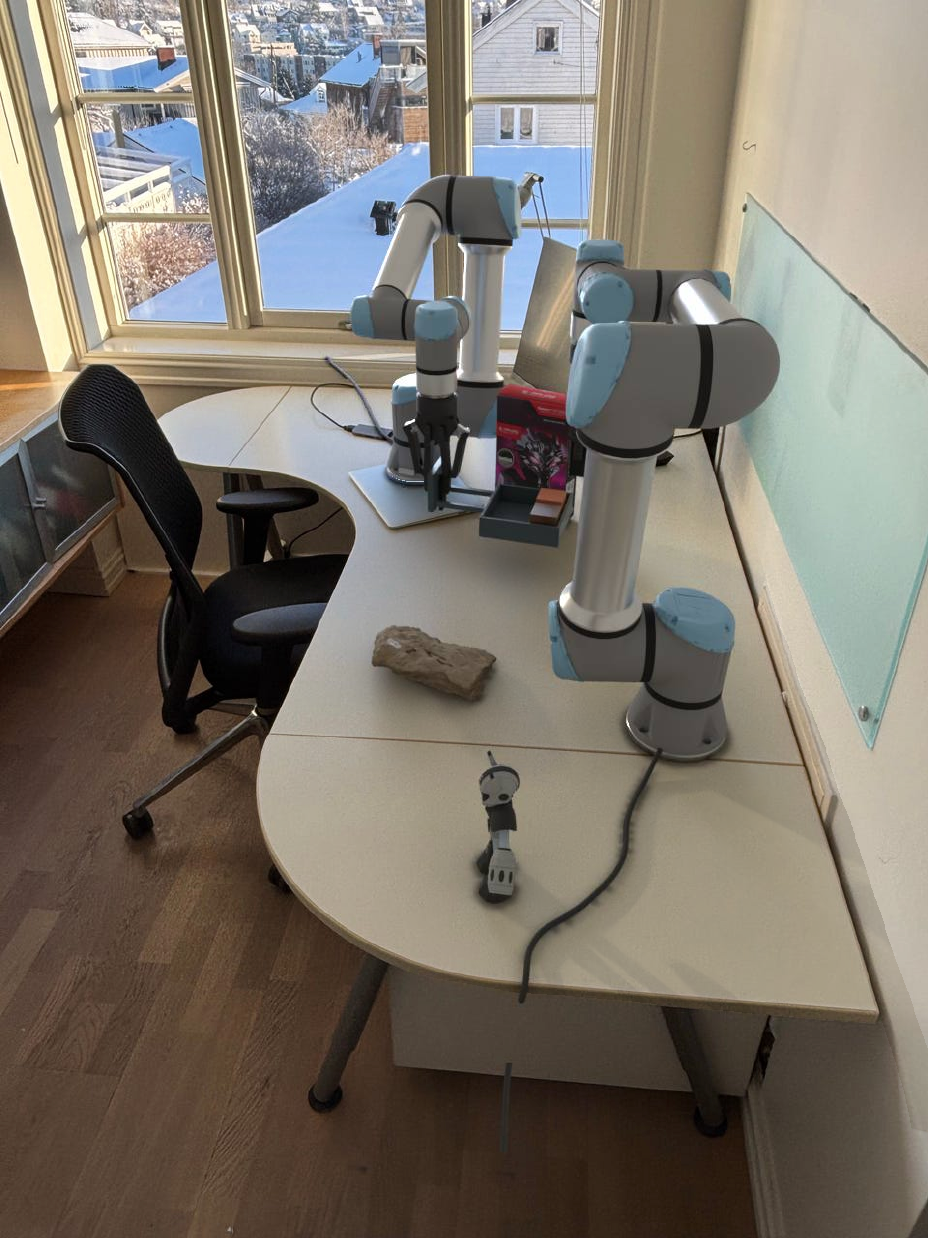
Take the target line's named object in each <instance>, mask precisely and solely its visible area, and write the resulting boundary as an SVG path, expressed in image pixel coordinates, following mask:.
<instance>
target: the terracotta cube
mask: <svg viewBox="0 0 928 1238" xmlns="http://www.w3.org/2000/svg"><path fill="white" fill-rule="evenodd" d="M566 494H567V491H562V490H554V489H546V488H541V490H540V492H539V494H538V497H537V499H536V503H543V504H550V505H558V506H561V515H562V513H563V510H564V508H565V505H566Z"/></svg>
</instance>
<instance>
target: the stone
mask: <svg viewBox="0 0 928 1238" xmlns="http://www.w3.org/2000/svg"><path fill="white" fill-rule="evenodd" d="M372 653H373V655H372V656H371V665H372V667H374V668H377V667H381V668H387V669H388V670H390V671H391V673H392V674H393V675H395V676H398V677H405V678H406V679H407V680H410V681H413V682H415V681H416V682H420V683H421V684H424V685H426V686H430V687H431V688H435V689H437V690H438V691H441V692H443V693H445V694H450V695H458V696H460V697H462V698H464V699H465V700H466V701H470V702H474V701H477V700H479V698H480V697H481V695H482V693H483V690H484V688H485V682H486V680H487V678H488V675H490V672H491V670H492V668H493V665H494V664H495V663H496V661H497V660H498V659H497V657H496V656H495V655H494V654H493V653H491V652H490V651H487V650H486V649H482V648H479V647H471V646H470V647H469V646H465V645H459V644H457V643H448V642H442V641H441V640H440V639H439V638H438V637H433V636H430V635H429V634H428V633H426V632H424V631H422V630H421V628H419V627H415V626H409V625H396V624H393V625H390V626H388V627H385V628H383V629H382V630H381V631H379V632H377V634H376V637H375V640H374V649H373V652H372Z"/></svg>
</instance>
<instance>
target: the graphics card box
mask: <svg viewBox="0 0 928 1238" xmlns="http://www.w3.org/2000/svg"><path fill="white" fill-rule="evenodd" d="M566 397H567V393H563V392H562V393H561V392H557V391H550V390H547V389H541V388H535V387H532V386H531V387H530V386H526V385H525V386H524V385H521V384H520V385H519V384H515V383H508V384H506V385H505V386H504V388H503V389H502V390H501V391H500V392H499V393H498V394H497V430H496V438H495V477H494V489H495V488H496V487H497V485H498V483H500V484H508V485H516V486H523V487H531V488H539V489H541V488H546V489H554V490H562V491H567V492H569V493H573V505H572V512H571V515H570V518H569V520H571V518H573V516H574V515H575V505H576V493H577V492H576V491H577V477H578V476H570V475H569V464H570V451H571V441H569V440H567V436H570V435H571V428H572V426H571V425H569V424H568V422H567V419H566Z"/></svg>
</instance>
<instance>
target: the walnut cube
mask: <svg viewBox="0 0 928 1238" xmlns="http://www.w3.org/2000/svg"><path fill="white" fill-rule="evenodd" d="M560 518H561V506H558V505H550V504H543V503H535V505H534V507H533V509H532V511H531V513H530V523H534V524H541V525H549V526H556V527H557V525H558V523H559V520H560Z"/></svg>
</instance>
